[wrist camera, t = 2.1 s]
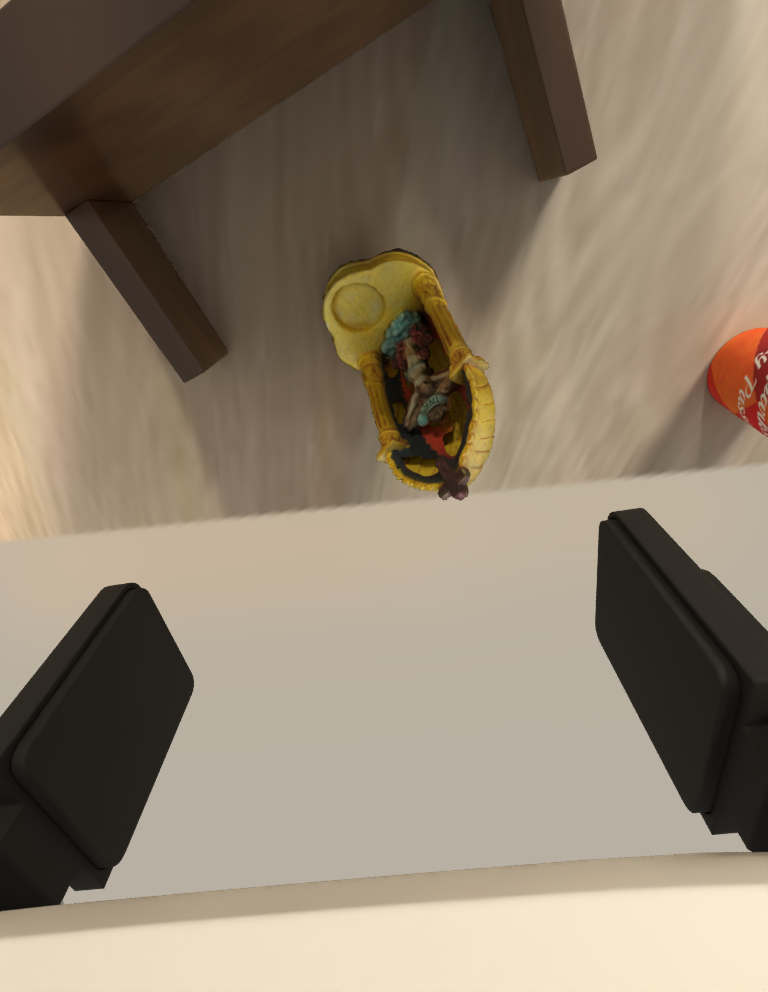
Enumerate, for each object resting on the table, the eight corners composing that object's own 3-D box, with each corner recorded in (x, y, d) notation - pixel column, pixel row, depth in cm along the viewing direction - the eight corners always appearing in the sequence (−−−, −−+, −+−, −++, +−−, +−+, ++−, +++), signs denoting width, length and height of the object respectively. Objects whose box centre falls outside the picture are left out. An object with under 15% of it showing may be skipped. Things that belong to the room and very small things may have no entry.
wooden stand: (516, -119, 23) (692, -586, 10) (582, 158, 28) (755, 104, 15) (75, 189, 29) (-186, 165, 16) (198, 368, 34) (79, 461, 21)
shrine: (493, 367, 34) (558, 459, 21) (398, 430, 37) (404, 547, 24) (400, 215, 30) (410, 213, 17) (299, 299, 32) (238, 354, 19)
